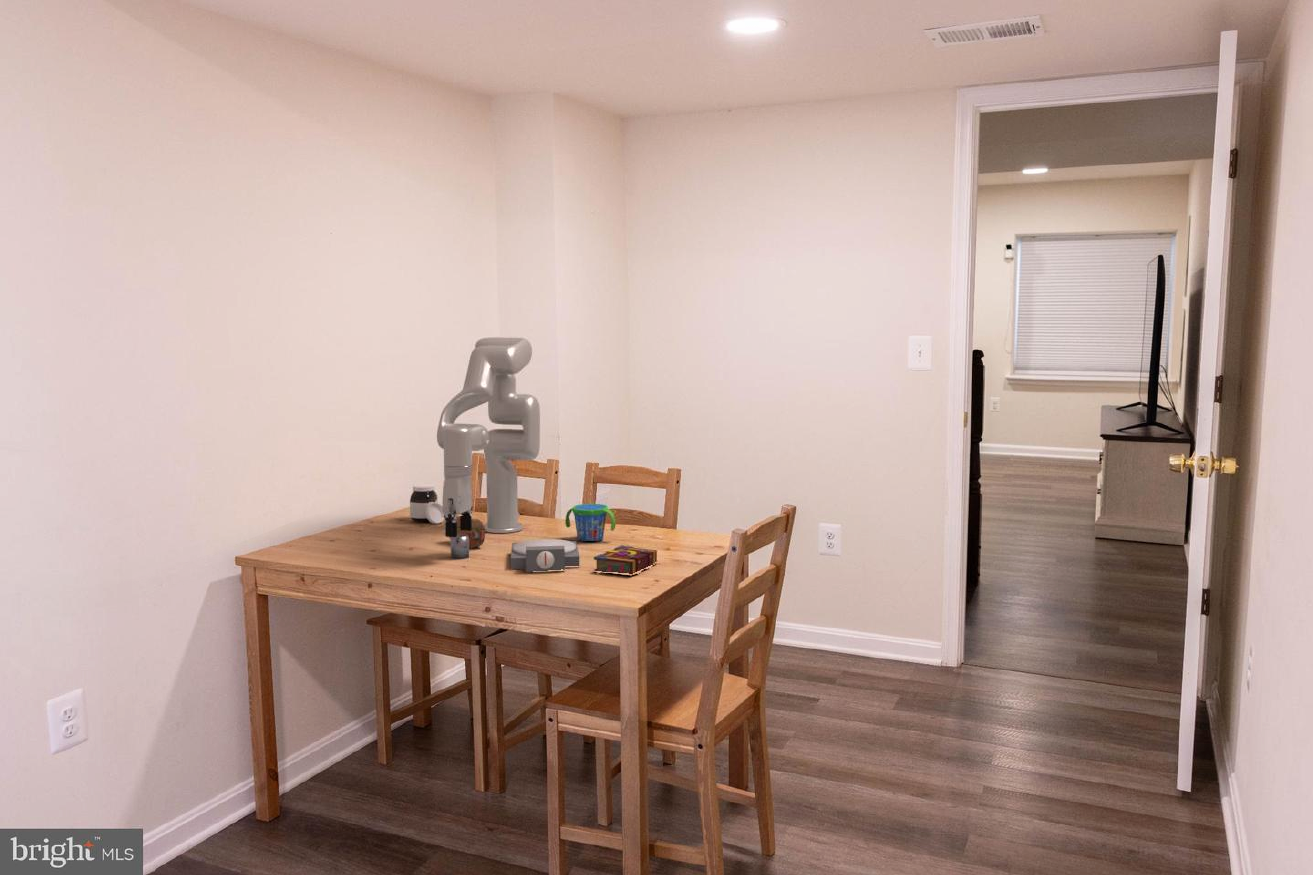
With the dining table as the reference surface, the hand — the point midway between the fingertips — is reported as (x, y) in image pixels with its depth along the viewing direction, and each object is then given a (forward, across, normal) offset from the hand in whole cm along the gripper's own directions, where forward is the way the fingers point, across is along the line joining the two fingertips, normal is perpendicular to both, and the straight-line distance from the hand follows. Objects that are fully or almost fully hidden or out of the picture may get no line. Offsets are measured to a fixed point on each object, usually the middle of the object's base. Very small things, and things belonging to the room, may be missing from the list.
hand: (458, 533), depth 272 cm
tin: (+7, -15, -4) cm, 17 cm away
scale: (+7, -1, +25) cm, 26 cm away
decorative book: (+7, +2, +48) cm, 48 cm away
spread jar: (+6, -44, -30) cm, 53 cm away
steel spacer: (+7, -1, 0) cm, 7 cm away
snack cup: (+6, -30, +29) cm, 42 cm away
